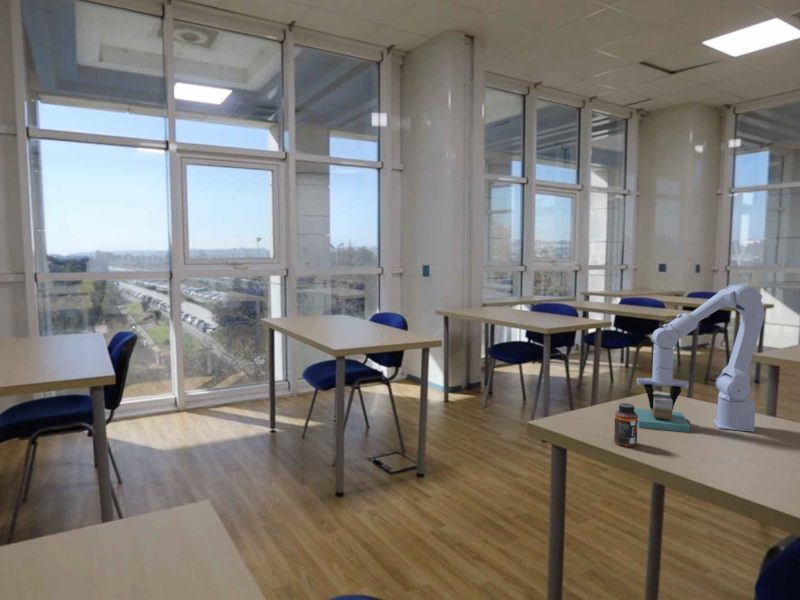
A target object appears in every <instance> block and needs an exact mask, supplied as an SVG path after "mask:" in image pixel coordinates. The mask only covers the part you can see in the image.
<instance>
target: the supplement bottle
mask: <svg viewBox="0 0 800 600" xmlns="http://www.w3.org/2000/svg"><path fill="white" fill-rule="evenodd" d="M618 409H619V410H617V411H615V412H614V432H613V433H614V435H613V439H614V443H615V444H617V445H618V446H620V447H627V448H633V447H636V446H637V444H638V415H637V414H636V413H635V411H634V410H635V405H634V404H632V403H627V402H625V403H624V402H623V403H619V404H618Z"/></svg>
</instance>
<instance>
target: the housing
mask: <svg viewBox="0 0 800 600" xmlns="http://www.w3.org/2000/svg"><path fill="white" fill-rule="evenodd" d="M672 404H673V400H672V398H671V397H670V392H668V393H667V392H656V391H655V392H654V391H653V409H650V410H651V412H652V414H653V417H654V418H662V419H672V412H673V410H672Z"/></svg>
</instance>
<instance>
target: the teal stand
mask: <svg viewBox="0 0 800 600" xmlns="http://www.w3.org/2000/svg"><path fill="white" fill-rule="evenodd" d="M634 411H635V413H636V414H637V415H638V426H637V428H639V427H640V429H649V430H659V429H660V430H661V431H669V432H670V431H672V432H679V433H680V432H681V433H682V432H683V433H690V430H691V425H690V424H689V422H688V420H687V419H686V418H685V416H684V414H683V413H682V412H681V411H672V419H662V418H654V417H653V414H652V412H651V409H645V408H635V407H634Z"/></svg>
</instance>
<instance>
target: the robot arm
mask: <svg viewBox="0 0 800 600" xmlns="http://www.w3.org/2000/svg"><path fill="white" fill-rule="evenodd" d="M762 300H763V295H762V293H760V291H759V290H758V289H757V288H756V287H754V286H752V285H744V284H738V283H731V284H729V285H727V286H726V287H725V288H722V289H720V290H719V291H718V292H717V293H715V294H714V295H713V296H712V297H710V298H709V299H708V300H706V301H705V302H704V303H702V304H701V305H699V306H698V307H697V308H696V309H693V311H692V312H691V313H688V312H684V313H682V314H681V313H678V314H677V315H675V317H676V318H674V319H673V320H671V321H669V322H668V323H665V324H663V325H662V327H659V328H657V329H655V330H654V331H653V332H652V334H651V335H650V338H651V341H652V343H653V352H652V353H653V354H652V373H651V374H652V376H651V377H637V378H636V385H637V386H643V387H644V390H645V392H646V396H647V399H648V402H649V403H648V404H649V410H651V409H653V392H654V386H655V387H667V388H669V395H670V397H671V398H672V400H673V404H672V411H673V410H674V406H675V403H676V401H677V400H678V398H679V395H680V394H681V392H682V388H683V389H687V390H688V389H689V387H690V386H689V381H688V380H680V379H674V378H673V376H674V375H673V374H674V349H675V347H676V345H677V343H678V341H679V340H680V339H683V337H685V336H687V335H688V334H690V333H691V332H692V331H695V330H696V329H697V328H698V325H699V322H700V321H702V320H703V319H705V318H707V317H709V316H710V315H711V314H713V313H715V312H717V311H718V310H720V309H722V308H729V307H730V308H733V307H734V308H736V310H737V311H738V313H739V314H740V316H742V317H741V322H740V324H739V328H738V331H737V333H736V338H735V341H734V344H733V348H732V351H731V355H730V358H729V361H728V363H727V365H726V366H725V367H724V368H723V369H722V371H721V373H720V375H718V377H717V378H716V379H715V387H716V389H717V390H718V395H717V396H718V397H717V413H716V414H717V416H716V419H712V421H713V423H714V424H715V425H716V426H717V428H718V429H721V430H723V429H724V430H729V431H730V430H732V431H742V432H743V431H744V432H755V431H756V430H755V422H756V421H755V420H756V419H755V418H756V417H755V416H756V406H755V402H754V400H752V399H748V397H749V396H750V394H751V387H750V383H751V376H750V373H749V368H750V365H751V362H752V359H753V355H754V352H755V350H756V346H757V344H758V343H757V342H758V339H759V337H760V333H761V329H762V327H763V325H764V324H763V323H764V320H765V317H766V313H765V308H764V304H763V301H762Z"/></svg>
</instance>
